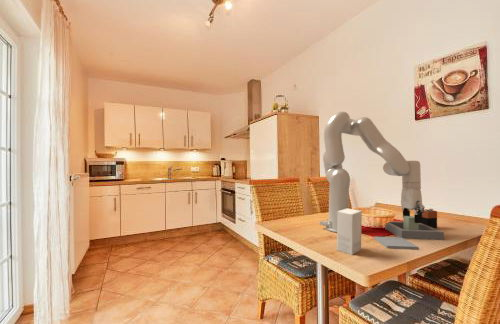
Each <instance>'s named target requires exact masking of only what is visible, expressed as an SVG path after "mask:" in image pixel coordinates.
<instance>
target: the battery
mask: <svg viewBox="0 0 500 324" xmlns="http://www.w3.org/2000/svg"><path fill="white" fill-rule="evenodd" d="M422 224H425V225H427V226H430V227H432V228H435V229H437V228H438V211H437V210H434V208H428V209H427V208H424V212H423V215H422Z"/></svg>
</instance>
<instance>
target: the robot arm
mask: <svg viewBox="0 0 500 324" xmlns="http://www.w3.org/2000/svg"><path fill="white" fill-rule="evenodd" d="M343 134H345V135H352V136H356V137H357V136H358V137H360V139H361V140H362V141H363V142H364V145H365V146H366V147H367V148H368V149H369V150H370V151H371V152H372V153H375V154H376V155H377V156H380V157H381V158H382V159H383V160H384V161H385V163H384V164H383V166H382V170H383V172H384V173H385V174H387V175H389V176H396V177H401V181H402V182H401V183H402V184H401V185H402V186H401V187H402V188H401V197H400V206H401V207H402V208H401V209H402V217H403V216H411V211H412V210H413V211H414V219H415V223H422V215H423V212H424V210H425V209H426V208H425V205H424V204H423V197H422V190H421V189H422V183H421V182H422V180H421V179H422V178H421V175H422V173H421V163H420V161H419V160H407V159H406V158H405V157H404V156H403V154H402V153H401V151H399V150H398V149H397V148H396V147H395V146H393V144H392V143H390V142H389V141H388V140H387V139H386V138H384V135H383V134H382V133H381V132H380V130H379V129H378V128H377V125H375V124H374V122H373V120H371V118H369V117H367V116H365V117H360V118H357V119H352V118H350V115H349V113H348V112H346V111H339V112H337V113H335V114H333V115H332V116H331V117H330V119H328V121H327V123H326V125H325V128H324V130H323V139H324V140H323V142H324V149H325V151H324V153H323V156H322V161H323V167H324V174H325V177H326V181H328V183H329V188H328V189H329V190H328V219H327V218H326V219H327V220H319V221H318V223H319V225H320V226H324V227H325V230H327V231H329V232H333V233H337V214H338V212H337V211H340V210H344V209H347V208H348V209H350V208H349V207H350V206H349V204H350V202H349V200H350V198H349V197H350V195H349V194H350V185H351V177H350V173H349V172H348V171H347V170H346V169H345V168H343V163H344V161H345V158H346V156H345V152H344V151H345V150H344V146H343V138H342V136H343Z"/></svg>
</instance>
